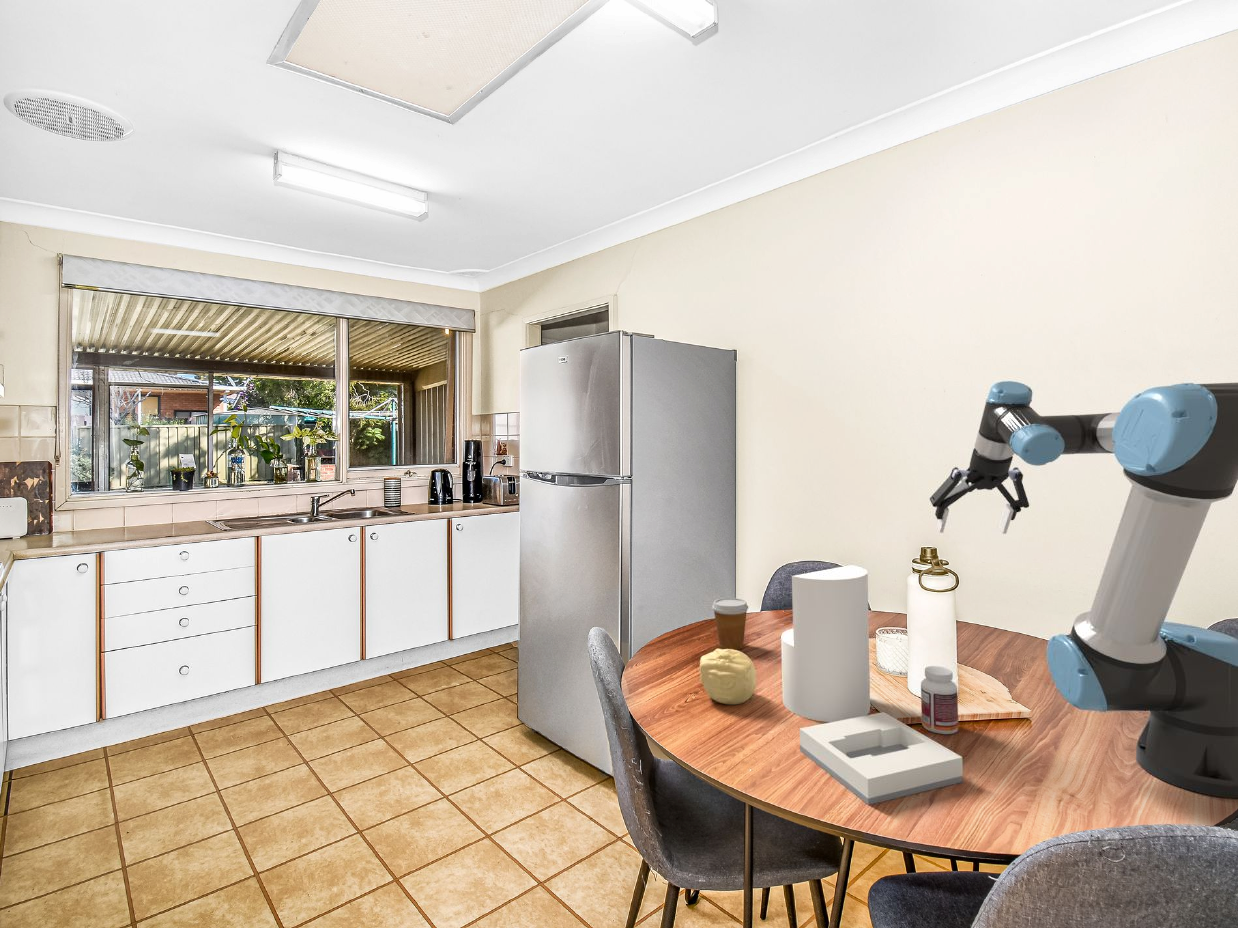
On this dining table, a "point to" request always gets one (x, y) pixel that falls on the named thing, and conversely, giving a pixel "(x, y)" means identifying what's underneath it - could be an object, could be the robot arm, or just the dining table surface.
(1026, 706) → the dining table surface
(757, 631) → the dining table surface
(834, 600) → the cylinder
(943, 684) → the pill bottle
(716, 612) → the disposable coffee cup
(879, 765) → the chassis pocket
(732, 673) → the sculpture
